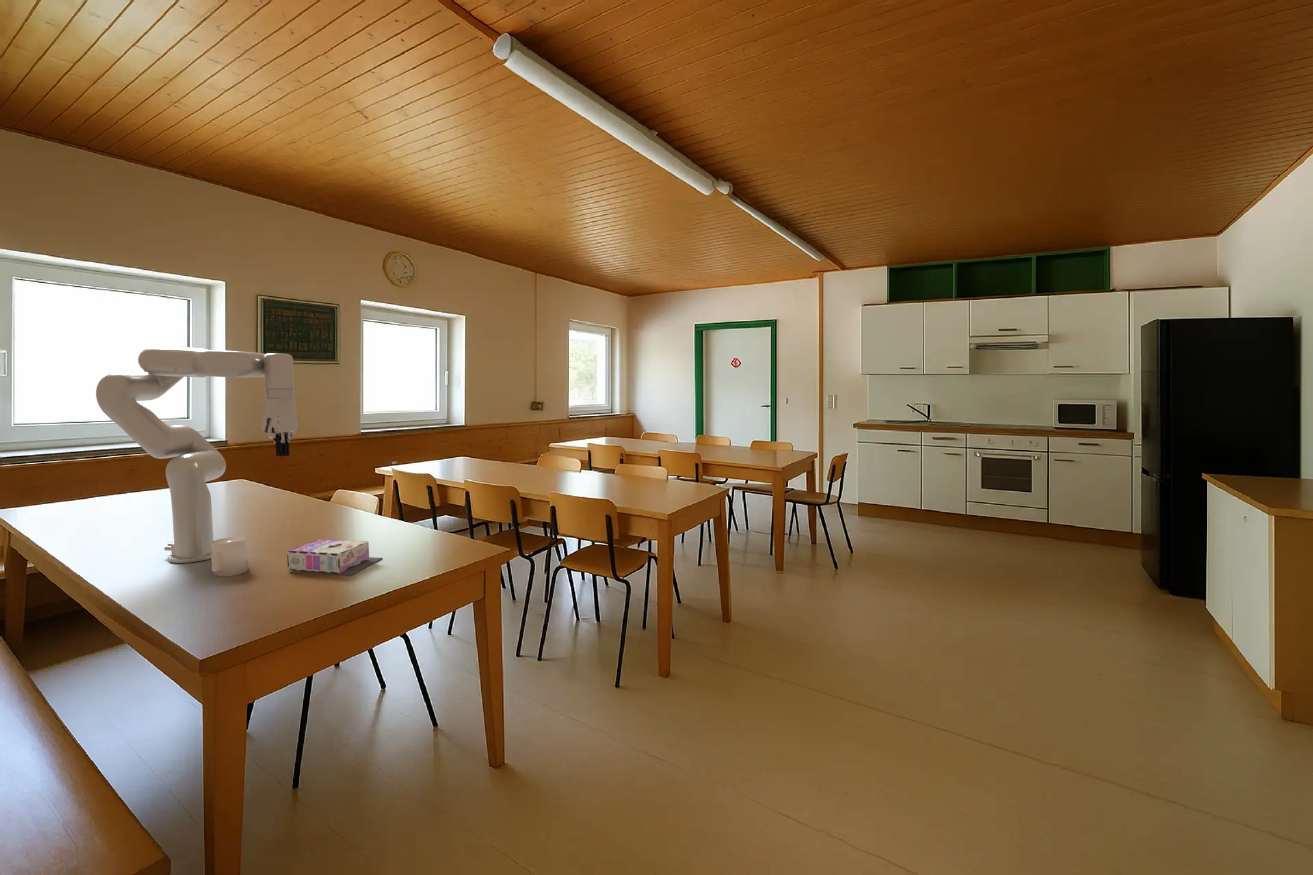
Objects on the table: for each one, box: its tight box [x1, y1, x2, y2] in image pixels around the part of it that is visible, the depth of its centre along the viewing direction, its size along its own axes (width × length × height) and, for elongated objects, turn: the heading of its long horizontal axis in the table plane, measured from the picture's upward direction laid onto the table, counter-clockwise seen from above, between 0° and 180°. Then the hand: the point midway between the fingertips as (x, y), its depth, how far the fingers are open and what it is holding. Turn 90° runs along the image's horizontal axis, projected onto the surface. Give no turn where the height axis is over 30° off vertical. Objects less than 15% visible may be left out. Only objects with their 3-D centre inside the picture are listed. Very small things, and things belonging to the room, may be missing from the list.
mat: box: [290, 556, 383, 577], centre depth 179 cm, size 18×16×1 cm
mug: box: [210, 536, 249, 577], centre depth 171 cm, size 8×10×9 cm
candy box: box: [286, 538, 370, 573], centre depth 178 cm, size 14×6×16 cm
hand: (282, 455), depth 185 cm, fingers closed
